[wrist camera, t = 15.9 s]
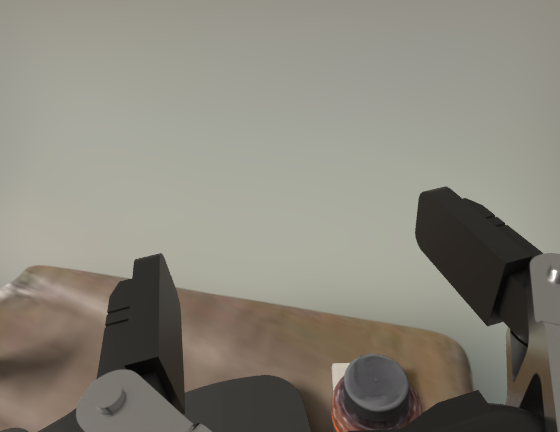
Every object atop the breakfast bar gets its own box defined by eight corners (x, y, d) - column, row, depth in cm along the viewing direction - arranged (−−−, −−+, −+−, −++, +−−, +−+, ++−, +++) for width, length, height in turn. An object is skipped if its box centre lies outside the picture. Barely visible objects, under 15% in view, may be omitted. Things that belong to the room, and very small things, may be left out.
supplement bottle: (431, 488, 29) (448, 405, 23) (359, 523, 28) (356, 446, 22) (388, 414, 34) (391, 329, 28) (324, 442, 33) (313, 359, 26)
